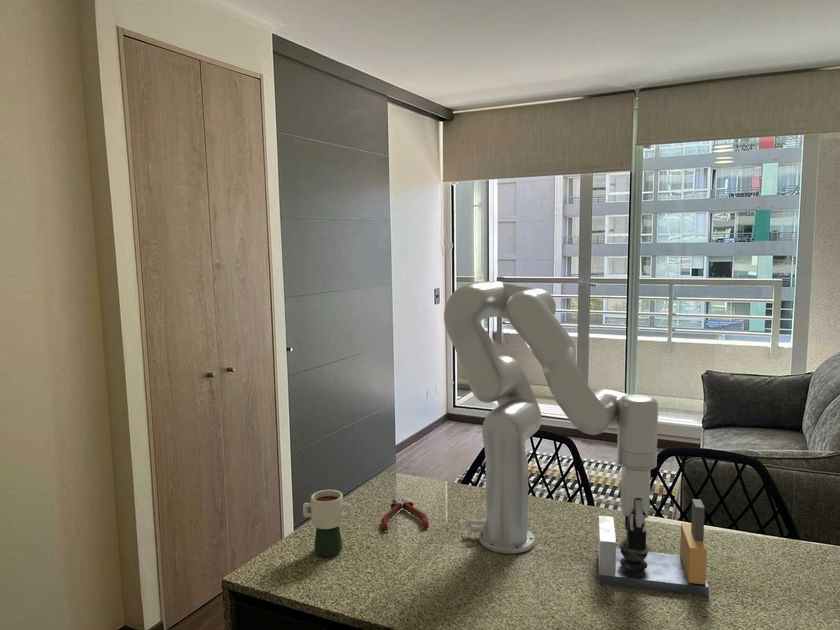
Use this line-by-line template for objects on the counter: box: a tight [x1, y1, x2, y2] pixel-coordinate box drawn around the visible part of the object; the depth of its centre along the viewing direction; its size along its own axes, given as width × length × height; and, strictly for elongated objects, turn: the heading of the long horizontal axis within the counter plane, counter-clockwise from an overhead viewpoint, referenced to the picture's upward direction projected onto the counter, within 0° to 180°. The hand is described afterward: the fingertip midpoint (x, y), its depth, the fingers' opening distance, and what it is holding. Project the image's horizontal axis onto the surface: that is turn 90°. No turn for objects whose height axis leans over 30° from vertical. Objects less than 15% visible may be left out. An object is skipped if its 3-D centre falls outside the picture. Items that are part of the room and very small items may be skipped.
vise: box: [597, 515, 710, 598], centre depth 125 cm, size 20×12×9 cm, turn 75°
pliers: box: [380, 494, 430, 532], centre depth 156 cm, size 12×20×3 cm, turn 6°
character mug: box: [302, 489, 353, 557], centre depth 136 cm, size 11×7×13 cm, turn 86°
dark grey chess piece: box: [618, 512, 650, 570], centre depth 125 cm, size 6×6×12 cm
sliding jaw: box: [679, 498, 708, 585], centre depth 122 cm, size 3×11×14 cm, turn 165°
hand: (634, 538), depth 125 cm, fingers open, 9 cm apart
